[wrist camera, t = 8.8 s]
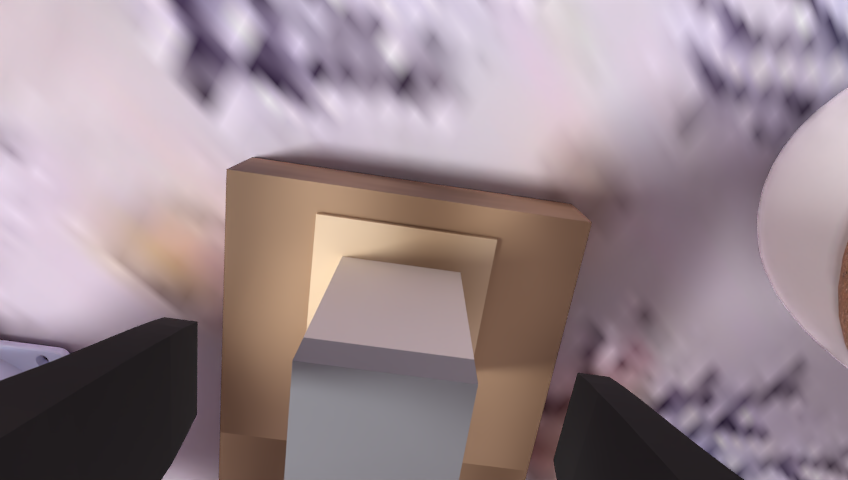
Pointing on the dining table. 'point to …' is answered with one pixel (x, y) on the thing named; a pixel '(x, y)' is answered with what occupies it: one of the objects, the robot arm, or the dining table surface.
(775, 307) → the dining table surface
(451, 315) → the plug
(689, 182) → the dining table surface
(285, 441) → the board
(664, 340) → the dining table surface
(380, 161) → the dining table surface
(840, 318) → the lidded jar
